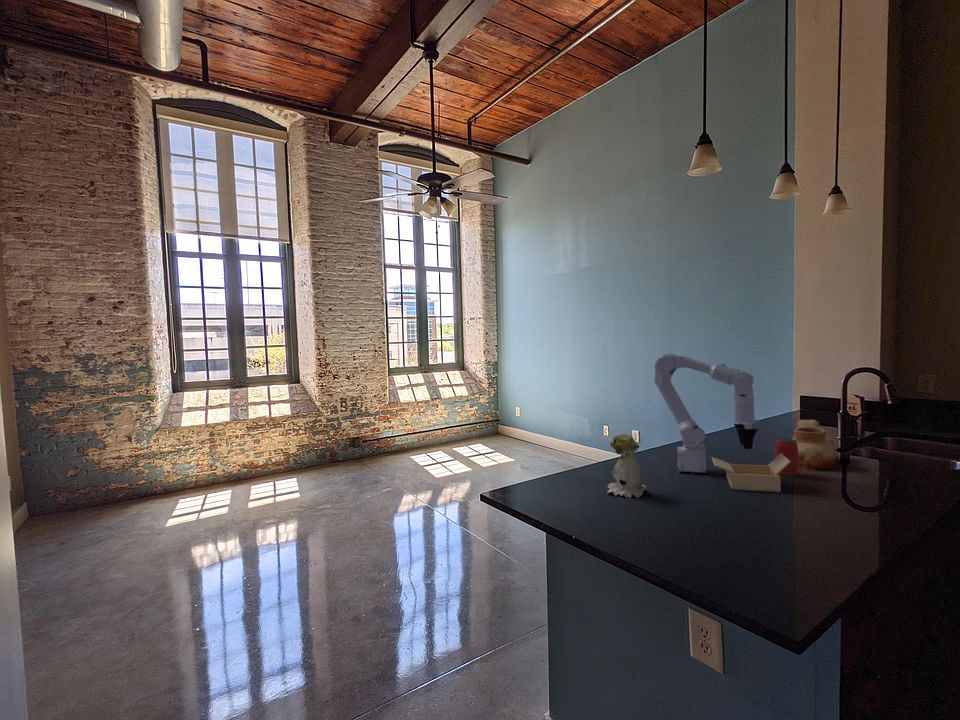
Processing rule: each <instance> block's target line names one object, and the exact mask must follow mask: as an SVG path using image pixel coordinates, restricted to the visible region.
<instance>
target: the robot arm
mask: <svg viewBox="0 0 960 720" xmlns="http://www.w3.org/2000/svg"><path fill="white" fill-rule="evenodd" d="M682 368H683V369H684V368H687V369H689V370H694V371H697V372H700V373H705V374H708V375H709V376H710V378H711V379H712V380H714V381H717V382H721V383H722V384H726V385H729V386H731V385H732V386H733V387H734V394H733V395H734V418H735V419H734V422H735V423H733V425H734V427H735V429H736V432H737V436H738V440H739V443H740V445H742V447H743V449H744V450H752V449H753V443H754V439H755V435H756V434H757V432H758V428H753V425H754V424H756V423H759V422H760V421H759V419H756V418H755V398H754V397H755V396H754V393H753V392H754V387H753V385H754V377H753V375H752V374H751V373H750V372H747V371H746V370H743V371H741V369H740V368H738V367H737V368H732V367H729V366H726V364H725V363H724V362H723V363H722V362H721V363H716V364H714V365H710V364H707V363H705V362H703V361H700V360H697V359H695V358H691V357H688V356H685V355H680V354H677V355H676V354H674V353H668V354H661V355H660V356H658V358H657V359H656V361H655V363H654V383H655V385H656V386H657V389H658V390H659V392H660V394H661V395H662V398H663V399H664V401H665V403H666V404H667V406H668V408H669V409H670V412H671V414H672V415H673V417H674V419H675V421H676V423H677V424H678V429H679V430H678V432H679V433H680V435H681V441H682V443H683V444H682V445H683V446H677V462H676V463H677V464H676V465H677V468H678V467H679V469H678V471H679V470H685V471H693V472H703V471H706V468H707V463H706V459H707V458H706V445H705V444H704V441H705V440H706V433H705V431H704V430H703V428H701V427H699V425H698V424H697V422H696V421H695V420H694V419H693V418H692V416H691V415H690V413H689V411H688V409H687V407H686V406H685V405H684V403H683V401H682V399H681V397H680V395H679V394H678V392H677V390H676V388H675V386H674V385H673V383H672V377H673V375H674V373H675V372H676V371H677V369H682ZM681 467H683V468H681Z"/></svg>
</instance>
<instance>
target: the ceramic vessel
mask: <svg viewBox="0 0 960 720" xmlns="http://www.w3.org/2000/svg"><path fill="white" fill-rule="evenodd" d="M792 436H793V437H792V438H791V439H794V440H796V443H797V445H798V460H799V465H800V466H804V467H807V468H811V469H810V470H812V469H822V470H824V469H823V468H831V469H832V468H833V467H834V463H835V462H836V459H837V454H836V448H835V443H834V441H833V440H832V439H831V438H829V437H828V436H827V434H826V430H825V429H823V428H822V427H821V425H820V422H819V421H817V420H816V419H800V420H798V421H797V423H796V427H795V430H793V435H792ZM807 468H806V469H807Z"/></svg>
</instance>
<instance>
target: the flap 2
mask: <svg viewBox="0 0 960 720" xmlns="http://www.w3.org/2000/svg"><path fill="white" fill-rule="evenodd" d="M789 463H791V462H790V461H789V460H788V459H787V458H786V457H785V456H784V455H783V454H782V453H780V454H779V455H778V456H777V457H774V459H773V460H772V461H770V462H769V463H768V464H767V465H768V466H769V467H770V468H771V469H772V470H773V471H774V473H775V474H776V475H777V474H778V473H779V472H780V471H781V470H783V469H784V468H785V467H786V466H787V465H788V464H789Z"/></svg>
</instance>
